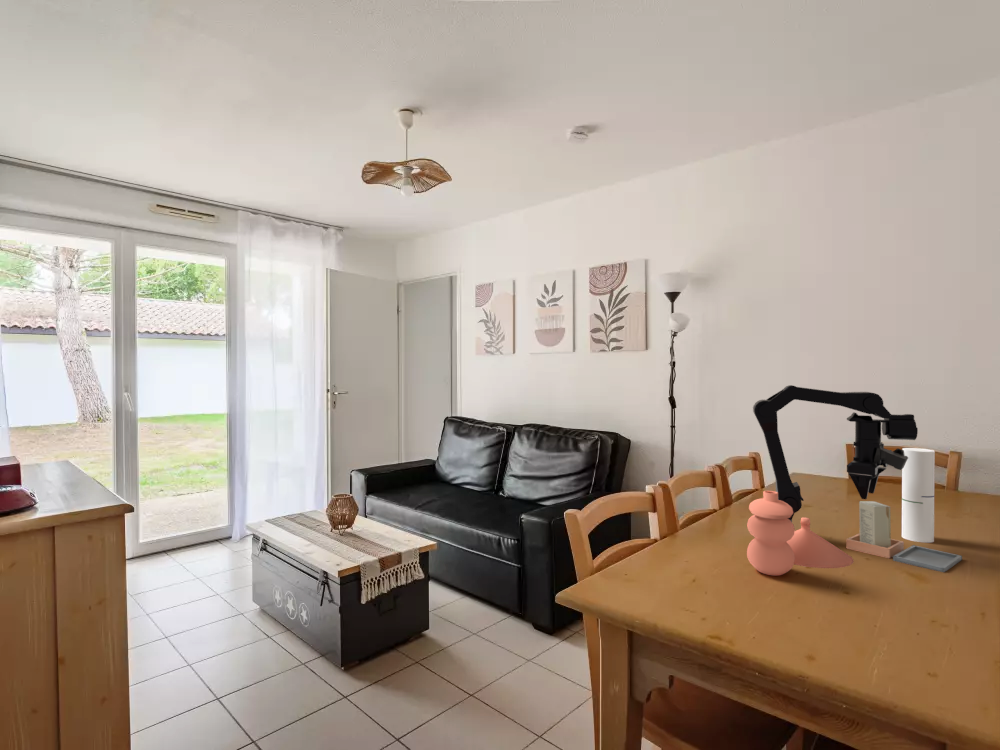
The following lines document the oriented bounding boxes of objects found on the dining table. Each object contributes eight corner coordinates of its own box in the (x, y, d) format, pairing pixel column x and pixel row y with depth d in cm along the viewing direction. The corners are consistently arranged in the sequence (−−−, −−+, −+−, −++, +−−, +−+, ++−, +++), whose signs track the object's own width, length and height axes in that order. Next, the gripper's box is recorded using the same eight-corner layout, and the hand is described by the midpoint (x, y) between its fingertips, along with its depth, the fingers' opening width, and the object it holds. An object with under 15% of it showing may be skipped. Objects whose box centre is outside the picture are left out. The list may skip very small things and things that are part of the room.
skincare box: (891, 554, 137) (892, 506, 137) (874, 554, 137) (875, 506, 137) (874, 545, 144) (875, 500, 144) (858, 545, 144) (858, 500, 144)
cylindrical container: (939, 543, 145) (940, 452, 145) (910, 542, 147) (910, 451, 146) (924, 535, 152) (925, 448, 152) (896, 534, 154) (897, 447, 153)
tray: (943, 573, 124) (943, 568, 124) (893, 561, 132) (893, 556, 132) (962, 561, 132) (962, 555, 132) (913, 549, 140) (913, 545, 140)
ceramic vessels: (781, 535, 153) (781, 469, 152) (866, 555, 136) (867, 482, 136) (716, 563, 131) (717, 487, 130) (809, 592, 114) (810, 504, 114)
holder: (889, 559, 134) (889, 549, 134) (846, 548, 142) (846, 539, 142) (903, 551, 139) (903, 541, 139) (861, 541, 147) (861, 532, 147)
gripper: (899, 445, 132) (898, 508, 132) (910, 437, 145) (910, 495, 145) (846, 440, 140) (846, 500, 140) (862, 434, 153) (861, 488, 153)
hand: (867, 496), depth 144 cm, fingers open, 9 cm apart
